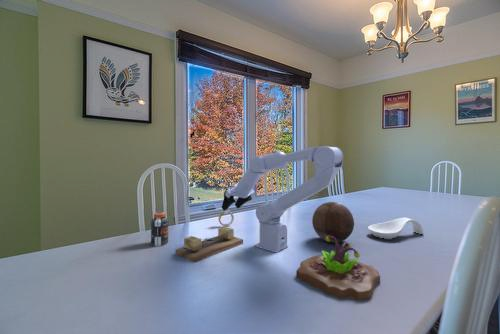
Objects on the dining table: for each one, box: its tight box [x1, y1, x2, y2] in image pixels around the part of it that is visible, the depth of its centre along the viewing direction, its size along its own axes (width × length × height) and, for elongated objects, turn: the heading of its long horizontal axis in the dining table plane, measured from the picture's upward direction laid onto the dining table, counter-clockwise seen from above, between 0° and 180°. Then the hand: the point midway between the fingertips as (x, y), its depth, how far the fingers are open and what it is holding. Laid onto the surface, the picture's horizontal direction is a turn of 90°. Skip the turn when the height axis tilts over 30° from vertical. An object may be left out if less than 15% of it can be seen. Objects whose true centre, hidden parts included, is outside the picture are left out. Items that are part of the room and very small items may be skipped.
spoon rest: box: [367, 217, 424, 240], centre depth 104 cm, size 24×12×7 cm, turn 106°
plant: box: [295, 236, 381, 301], centre depth 67 cm, size 20×20×11 cm
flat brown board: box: [175, 235, 244, 263], centre depth 88 cm, size 10×22×5 cm, turn 140°
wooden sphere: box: [311, 201, 355, 243], centre depth 96 cm, size 15×15×15 cm
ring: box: [218, 208, 235, 227], centre depth 115 cm, size 7×3×8 cm, turn 108°
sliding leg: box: [217, 226, 235, 239], centre depth 93 cm, size 6×3×4 cm, turn 50°
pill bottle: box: [150, 211, 169, 247], centre depth 92 cm, size 6×6×11 cm
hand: (230, 207), depth 101 cm, fingers open, 7 cm apart
